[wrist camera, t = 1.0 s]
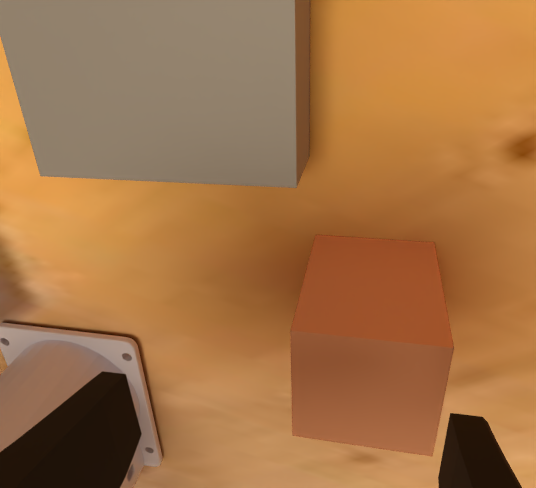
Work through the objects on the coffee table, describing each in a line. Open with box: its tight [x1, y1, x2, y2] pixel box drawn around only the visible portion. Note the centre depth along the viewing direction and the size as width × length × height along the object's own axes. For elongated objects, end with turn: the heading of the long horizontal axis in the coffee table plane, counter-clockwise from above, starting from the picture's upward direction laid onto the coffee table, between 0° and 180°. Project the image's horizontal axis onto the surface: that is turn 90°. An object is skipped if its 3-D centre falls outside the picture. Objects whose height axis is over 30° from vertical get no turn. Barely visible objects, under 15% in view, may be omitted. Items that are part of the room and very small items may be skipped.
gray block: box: [0, 0, 310, 188], centre depth 15 cm, size 9×9×3 cm
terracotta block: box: [291, 235, 454, 456], centre depth 17 cm, size 4×4×6 cm
